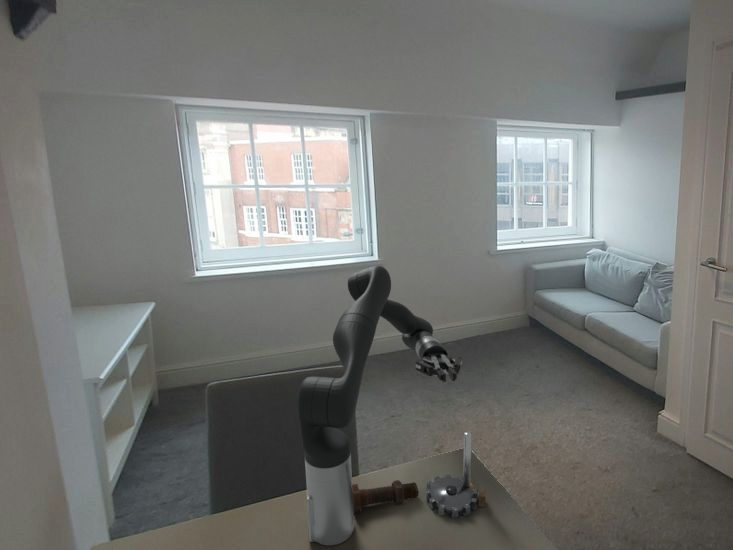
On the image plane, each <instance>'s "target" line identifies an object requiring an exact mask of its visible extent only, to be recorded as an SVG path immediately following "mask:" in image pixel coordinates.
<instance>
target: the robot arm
mask: <svg viewBox="0 0 733 550" xmlns="http://www.w3.org/2000/svg"><path fill="white" fill-rule="evenodd" d="M347 290H348V292H349V295H350V296H351V298H352V299H353V300H354V302H353V303H352V304H351V305H349V306H348V307H347V309H345V311H344V312H342V314H341V316H340V317H339V319H338V321H337V325H336V327H335V329H334V331H333V335H332V344H333V347H334V350H335V352H336V355H337V357H338V359H339V360H340V362H341V364H342V367H343V370H344V373H343V375H342V376H341V377H327V376H307V377H306V378H304V379H303V380H302V381H301V383H300V386H299V388H298V393H297V402H296V403H297V404H296V405H297V416H298V417H297V418H298V424H299V431H300V439H301V447H302V451H303V452H304V453H303V454H304V466H305V481H306V482H305V483H306V506H307V507H306V509H307V511H306V512H307V525H308V535H309V543H310V542H311V543H313V542H314V543H315V542H316V543H318V544H320V545H322V546H336V545H339V544H342V543H344V542H346V541H347V540H349V538H350V537H351V536H352V534H353V532H354V529H355V515H354V512H353V493H352V485H353V475H352V454H351V451H352V450H351V441H350V438H349V437H348V435H347V434H345V433H344V432H343V431H342V430H340V429H344V428H347V427H348V426H350V424H351V422H352V420H353V419H354V415H355V413H356V409H357V404H358V399H359V393H360V389H361V385H362V380H363V374H364V371H365V367H366V362H367V359H368V356H369V353H370V351H371V347H372V346H373V345H372V344H373V342H374V338H375V334H376V329H377V326H378V324H379V320H380V317H381V318H382V319H385V320H386V321H387V322H388V323H390V325H391V326H392V327H394V328H395V329H396V330H397V331H398V332H399V333H401V334H402V335H401V341H402V342H403V344H404V345H405V346H406V347H407V348H408V349H411V350H413V351H415V352H416V354H417V357H418V358H419V360H417V359H416V360H415V370H416V371H417V372H420V373H421V374H424V375H426V376H429V377H433V376H435V377H437V378H438V380H439V381H441V382H442V383H443V382H444V383H446V382H447V376H448V378H449V379H450V380H451V382H455V381H456V380H457V379H458V374H459V373H460V371H461V370H462V367H463V357H461V356H458V357H456V358H453V357H452V356H450V355H449V354H448V352H447V350H446V349H445V348H444V346H443V345H442V344H441V343H440V341H438V340H437V339H436V338H435V337H434V335H433V333H434V328H433V325H432V324H431V323H430V322H429V321H428V320H426V319H424V318H422V317H419V316H417V315H415V314H414V313H413V312H412V311H411V310H410V309H409V308H408V307H407V306H405V304H403V303H400V302H399V301H395V300H392V299H389V297H390V294H391V290H392V279H391V276H390V274H389V272H388V270H387V269H386V268H385V267H383V266H382V265H374V266H370V267H367V268H364V269H363V270H359V271H357V272H355V273H353V274H351V275H350V276H349V277H348V279H347Z"/></svg>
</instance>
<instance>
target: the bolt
mask: <svg viewBox="0 0 733 550" xmlns="http://www.w3.org/2000/svg"><path fill="white" fill-rule="evenodd" d="M352 493H353V514H360V513H361V511H362V507H364V508H365V507H368V506H371V505H378V504H386V503H392V502H394V504H395V505H396V506H398V505H403V504H404V503H405V501H406V500H411V499H417V498H418V497H419V496H420V495H419V488H418V484H417V482H410V483H409V482H408V483H402V481H400V480H399V479H397V480H393V481H392V483H391V485H387V486H380V487H374V488H373V487H372V488H361V489H360V488H359V484H358V483H355V484H352Z"/></svg>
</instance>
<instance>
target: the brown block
mask: <svg viewBox="0 0 733 550" xmlns="http://www.w3.org/2000/svg"><path fill="white" fill-rule="evenodd" d="M485 492H486V491H485V490H482V489H479V490H478V506H479V507H482V508H483V507H485V506H486V497H485V496H486V493H485Z"/></svg>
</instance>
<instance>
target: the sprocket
mask: <svg viewBox="0 0 733 550" xmlns="http://www.w3.org/2000/svg"><path fill="white" fill-rule="evenodd" d="M471 461H472V432H471V431H464V432H463V467H462V468H463V473H462V475H463V477H462V476H457V477H452V475H451V474H445V476H444V477H440V476H439V475H437V476H435V477H433V478H434V479H433V481H428V482H427V484H426V486H427V487H426V489H425V499H426V501H428V506H429V507H430V509H432V510H434V509H436V510H438V514H439V515H440V516H443V517H444V516H445V515H446V514H447V515H451V517H452V519H453V518H455V519H456V518H459V515H464V516H465V517H468V516H469V515H471V509H472V510H476V509H477V506H478V492H477V491H478V490H477V489H474V485H473V483H472V482H471V472H472V471H471V469H472V465H471V463H472V462H471Z"/></svg>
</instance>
